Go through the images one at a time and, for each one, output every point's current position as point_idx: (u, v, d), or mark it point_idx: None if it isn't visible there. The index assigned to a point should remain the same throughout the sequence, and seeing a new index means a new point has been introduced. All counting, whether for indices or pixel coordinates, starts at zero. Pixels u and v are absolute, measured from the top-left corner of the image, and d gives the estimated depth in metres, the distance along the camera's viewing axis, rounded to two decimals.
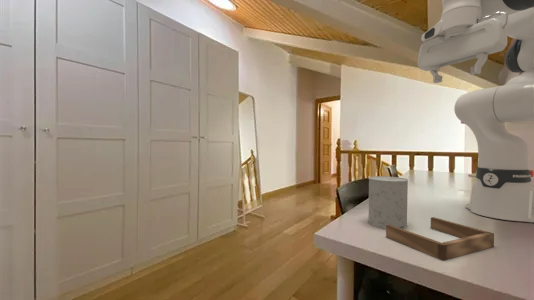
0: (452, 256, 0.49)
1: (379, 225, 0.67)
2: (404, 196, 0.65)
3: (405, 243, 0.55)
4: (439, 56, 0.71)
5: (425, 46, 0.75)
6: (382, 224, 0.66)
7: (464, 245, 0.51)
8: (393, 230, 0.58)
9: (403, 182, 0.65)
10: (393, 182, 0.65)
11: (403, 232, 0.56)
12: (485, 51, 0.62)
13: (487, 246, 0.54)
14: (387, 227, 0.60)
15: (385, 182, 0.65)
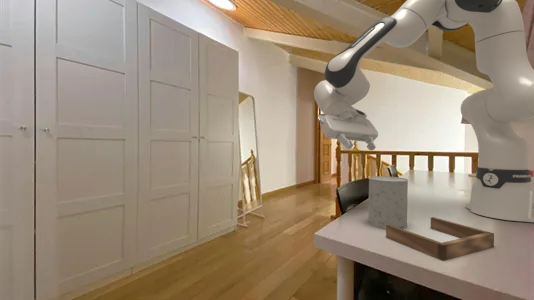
0: (452, 256, 0.49)
1: (379, 225, 0.67)
2: (404, 196, 0.65)
3: (405, 243, 0.55)
4: None
5: None
6: (382, 224, 0.66)
7: (464, 245, 0.51)
8: (393, 230, 0.58)
9: (403, 182, 0.65)
10: (393, 182, 0.65)
11: (403, 232, 0.56)
12: (335, 137, 0.78)
13: (487, 246, 0.54)
14: (387, 227, 0.60)
15: (385, 182, 0.65)
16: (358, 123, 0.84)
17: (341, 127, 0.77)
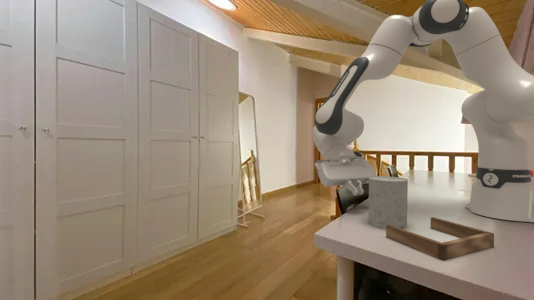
0: (452, 256, 0.49)
1: (379, 225, 0.67)
2: (404, 196, 0.65)
3: (405, 243, 0.55)
4: None
5: None
6: (382, 224, 0.66)
7: (464, 245, 0.51)
8: (393, 230, 0.58)
9: (403, 182, 0.65)
10: (393, 182, 0.65)
11: (403, 232, 0.56)
12: (332, 184, 0.80)
13: (487, 246, 0.54)
14: (387, 227, 0.60)
15: (385, 182, 0.65)
16: (356, 166, 0.86)
17: (337, 175, 0.79)
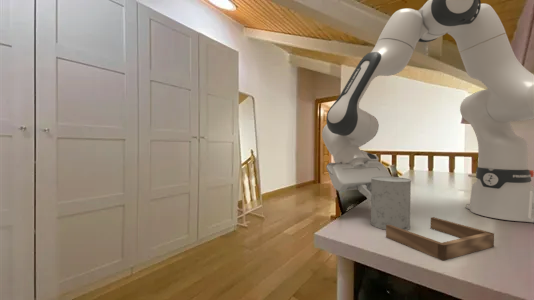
0: (452, 256, 0.49)
1: (382, 226, 0.66)
2: (407, 196, 0.65)
3: (405, 243, 0.55)
4: None
5: None
6: (385, 224, 0.65)
7: (464, 245, 0.51)
8: (393, 230, 0.58)
9: (406, 182, 0.64)
10: (396, 182, 0.64)
11: (403, 232, 0.56)
12: (345, 189, 0.75)
13: (487, 246, 0.54)
14: (387, 227, 0.60)
15: (388, 182, 0.65)
16: (370, 168, 0.80)
17: (351, 178, 0.74)
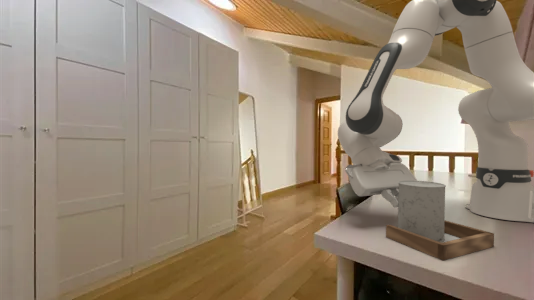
0: (452, 256, 0.49)
1: None
2: (442, 204, 0.57)
3: (405, 243, 0.55)
4: None
5: None
6: None
7: (464, 245, 0.51)
8: (393, 230, 0.58)
9: (442, 188, 0.57)
10: (431, 188, 0.56)
11: (403, 232, 0.56)
12: (367, 194, 0.67)
13: (487, 246, 0.54)
14: (387, 227, 0.60)
15: (421, 188, 0.57)
16: (393, 171, 0.72)
17: (374, 183, 0.66)
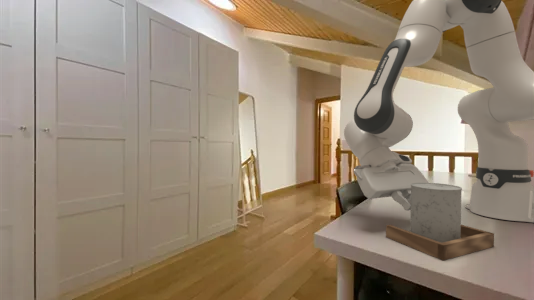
0: (452, 256, 0.49)
1: None
2: (459, 207, 0.54)
3: (405, 243, 0.55)
4: None
5: None
6: None
7: (464, 245, 0.51)
8: (393, 230, 0.58)
9: (458, 191, 0.53)
10: (447, 191, 0.53)
11: (403, 232, 0.56)
12: (377, 196, 0.64)
13: (487, 246, 0.54)
14: (387, 227, 0.60)
15: (437, 191, 0.54)
16: (403, 172, 0.69)
17: (384, 184, 0.63)
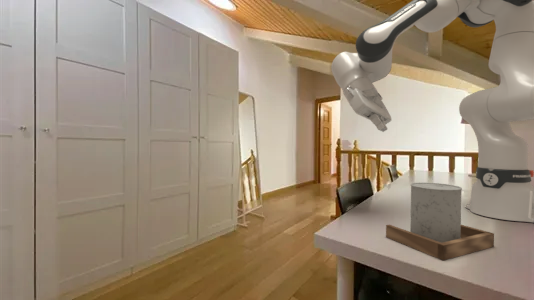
0: (452, 256, 0.49)
1: None
2: (459, 207, 0.54)
3: (405, 243, 0.55)
4: None
5: None
6: None
7: (464, 245, 0.51)
8: (393, 230, 0.58)
9: (458, 191, 0.53)
10: (447, 191, 0.53)
11: (403, 232, 0.56)
12: (362, 114, 0.73)
13: (487, 246, 0.54)
14: (387, 227, 0.60)
15: (437, 191, 0.54)
16: (377, 104, 0.82)
17: (370, 104, 0.73)
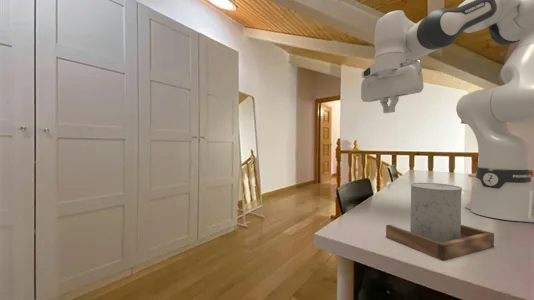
0: (452, 256, 0.49)
1: None
2: (459, 207, 0.54)
3: (405, 243, 0.55)
4: (375, 92, 0.82)
5: (365, 82, 0.85)
6: None
7: (464, 245, 0.51)
8: (393, 230, 0.58)
9: (458, 191, 0.53)
10: (447, 191, 0.53)
11: (403, 232, 0.56)
12: (407, 93, 0.73)
13: (487, 246, 0.54)
14: (387, 227, 0.60)
15: (437, 191, 0.54)
16: None
17: None
